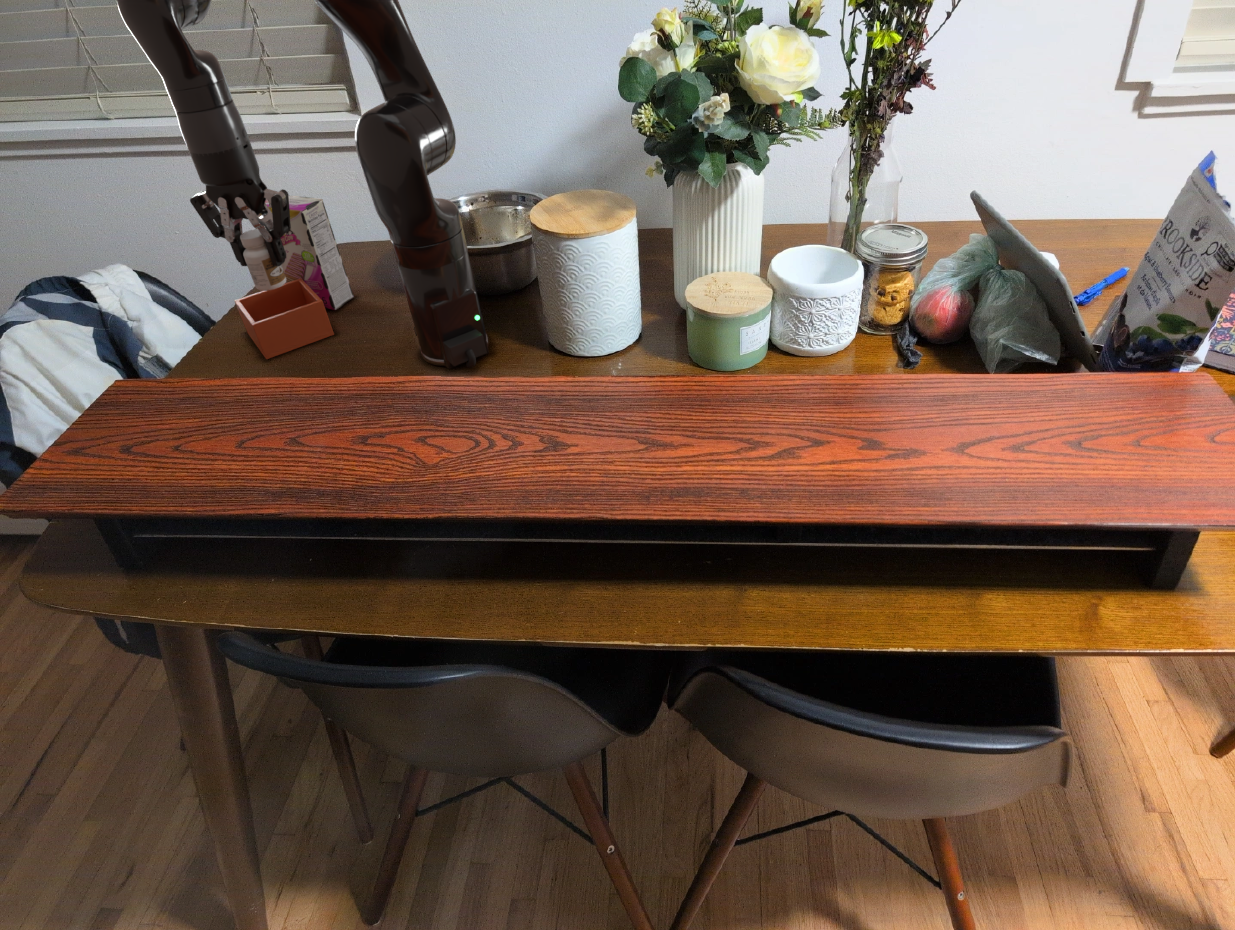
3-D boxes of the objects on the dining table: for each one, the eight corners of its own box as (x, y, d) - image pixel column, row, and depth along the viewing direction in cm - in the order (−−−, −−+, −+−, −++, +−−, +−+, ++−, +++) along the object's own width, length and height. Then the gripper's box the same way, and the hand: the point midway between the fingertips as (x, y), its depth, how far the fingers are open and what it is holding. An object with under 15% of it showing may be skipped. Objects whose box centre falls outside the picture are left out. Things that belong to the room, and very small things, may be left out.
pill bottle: (281, 290, 120) (262, 239, 115) (251, 292, 120) (231, 241, 116) (291, 276, 124) (273, 225, 119) (262, 278, 124) (243, 228, 119)
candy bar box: (281, 303, 136) (243, 203, 125) (302, 289, 139) (267, 191, 129) (335, 312, 131) (300, 209, 121) (355, 297, 135) (323, 196, 125)
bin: (334, 334, 125) (322, 300, 122) (266, 359, 122) (252, 325, 118) (312, 310, 132) (301, 277, 129) (247, 333, 128) (233, 300, 125)
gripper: (152, 152, 108) (205, 276, 119) (252, 149, 105) (297, 276, 116) (186, 133, 114) (233, 252, 124) (281, 129, 111) (321, 252, 121)
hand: (263, 263), depth 120 cm, fingers closed on pill bottle, 4 cm apart
